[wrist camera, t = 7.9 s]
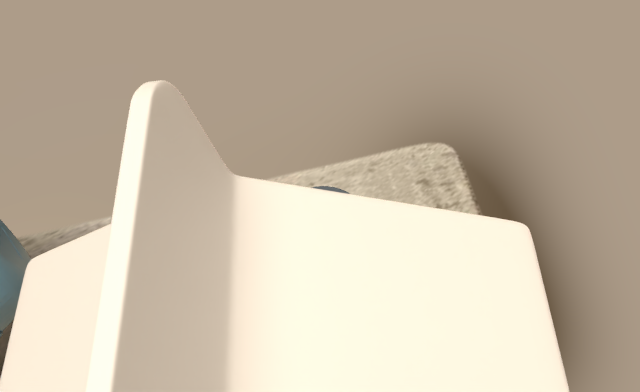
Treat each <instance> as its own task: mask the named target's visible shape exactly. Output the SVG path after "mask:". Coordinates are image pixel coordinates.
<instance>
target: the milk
mask: <svg viewBox="0 0 640 392" xmlns="http://www.w3.org/2000/svg"><path fill="white" fill-rule="evenodd" d="M0 392H569V388H568V384H567V380H566V375H565V371H564V367H563V363H562V359H561V355H560V350H559V346H558V342H557V338H556V334H555V330H554V326H553V321H552V317H551V314H550V310H549V306H548V301H547V297H546V293H545V289H544V285H543V281H542V276H541V272H540V268H539V264H538V260H537V256H536V251H535V247H534V244H533V240H532V236H531V233H530V231H529V228H527V226H526V225H524V224H522V223H519V222H515V221H510V220H505V219H499V218H493V217H487V216H481V215H475V214H469V213H463V212H456V211H450V210H444V209H438V208H432V207H426V206H420V205H414V204H407V203H401V202H395V201H389V200H383V199H377V198H371V197H365V196H358V195H352V194H346V193H340V192H334V191H328V190H322V189H316V188H309V187H303V186H297V185H291V184H285V183H279V182H273V181H267V180H260V179H253V178H248V177H242V176H237V175H235V174H233V173H232V172H231V171H230V170H229V169H228V168H227V166H226V165H225V164H224V162H223V161H222V159H221V157H220V156H219V154H218V153H217V151H216V149H215V148H214V146H213V145H212V143H211V141H210V140H209V138H208V136H207V135H206V133H205V131H204V130H203V128H202V126H201V125H200V123H199V122H198V120H197V118H196V117H195V115H194V113H193V112H192V110H191V108H190V107H189V105H188V104H187V102H186V100H185V99H184V97H183V96H182V94H181V93H180V91H178V89H177V88H176V87H175V86H174V85H172V84H171V83H169V82H167V81H164V80H162V81H151V82H147V83H144V84H143V85H141V86H140V87H139V88H138V89H137V91H136V92H135V93H134V95H133V97H132V100H131V104H130V109H129V115H128V121H127V127H126V133H125V139H124V146H123V152H122V158H121V165H120V171H119V177H118V184H117V190H116V196H115V203H114V209H113V215H112V221H111V224H109V225H107V226H104V227H102V228H100V229H98V230H95V231H93V232H91V233H88V234H86V235H84V236H82V237H79V238H77V239H75V240H72V241H70V242H68V243H66V244H63V245H61V246H59V247H56V248H54V249H52V250H50V251H47V252H45V253H43V254H41V255H38V256H36V257H35V258H33V259H32V260H30V262H29V263H28V265H27V267H26V270H25V274H24V278H23V283H22V287H21V291H20V296H19V300H18V304H17V309H16V313H15V317H14V322H13V326H12V330H11V335H10V339H9V343H8V348H7V352H6V356H5V361H4V365H3V369H2V374H1V378H0Z"/></svg>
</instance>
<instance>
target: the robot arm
mask: <svg viewBox="0 0 640 392" xmlns="http://www.w3.org/2000/svg"><path fill="white" fill-rule="evenodd" d="M30 260H32V259H31V258H30V256H29V255H28V253H27V252H26V250H25V249H24V247H23V246H22V245H21V243H20V242H19V241H18V240H17V238H16V237H15V236H14V235H13V233H12V232H11V231H10V230H9V229H8V228H7V226H6V225H5V224H4V223H3V222H2V221H1V220H0V337H1V336H2V334H3V330H4V329H5V328H6V327H7V326H8V325H9V324H10V323H11V322H12V321H13V320H14V317H15V313H16V309H17V304H18V300H19V296H20V291H21V287H22V283H23V278H24V274H25V270H26V267H27V265H28V263H29V262H30Z"/></svg>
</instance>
